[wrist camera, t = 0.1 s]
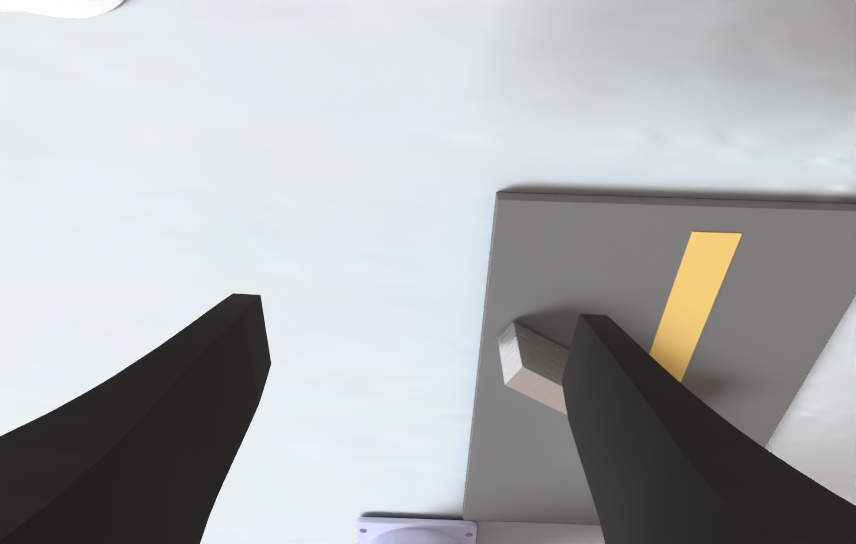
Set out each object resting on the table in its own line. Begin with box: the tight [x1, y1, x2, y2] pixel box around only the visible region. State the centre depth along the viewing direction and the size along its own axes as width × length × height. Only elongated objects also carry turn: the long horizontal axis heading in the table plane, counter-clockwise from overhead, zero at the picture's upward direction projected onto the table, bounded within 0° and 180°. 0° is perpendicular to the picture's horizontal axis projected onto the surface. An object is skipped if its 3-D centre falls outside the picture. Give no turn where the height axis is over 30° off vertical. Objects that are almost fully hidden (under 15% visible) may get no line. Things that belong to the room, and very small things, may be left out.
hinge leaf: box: [498, 321, 569, 415], centre depth 22 cm, size 8×1×3 cm, turn 59°
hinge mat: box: [463, 192, 856, 525], centre depth 24 cm, size 22×16×4 cm
